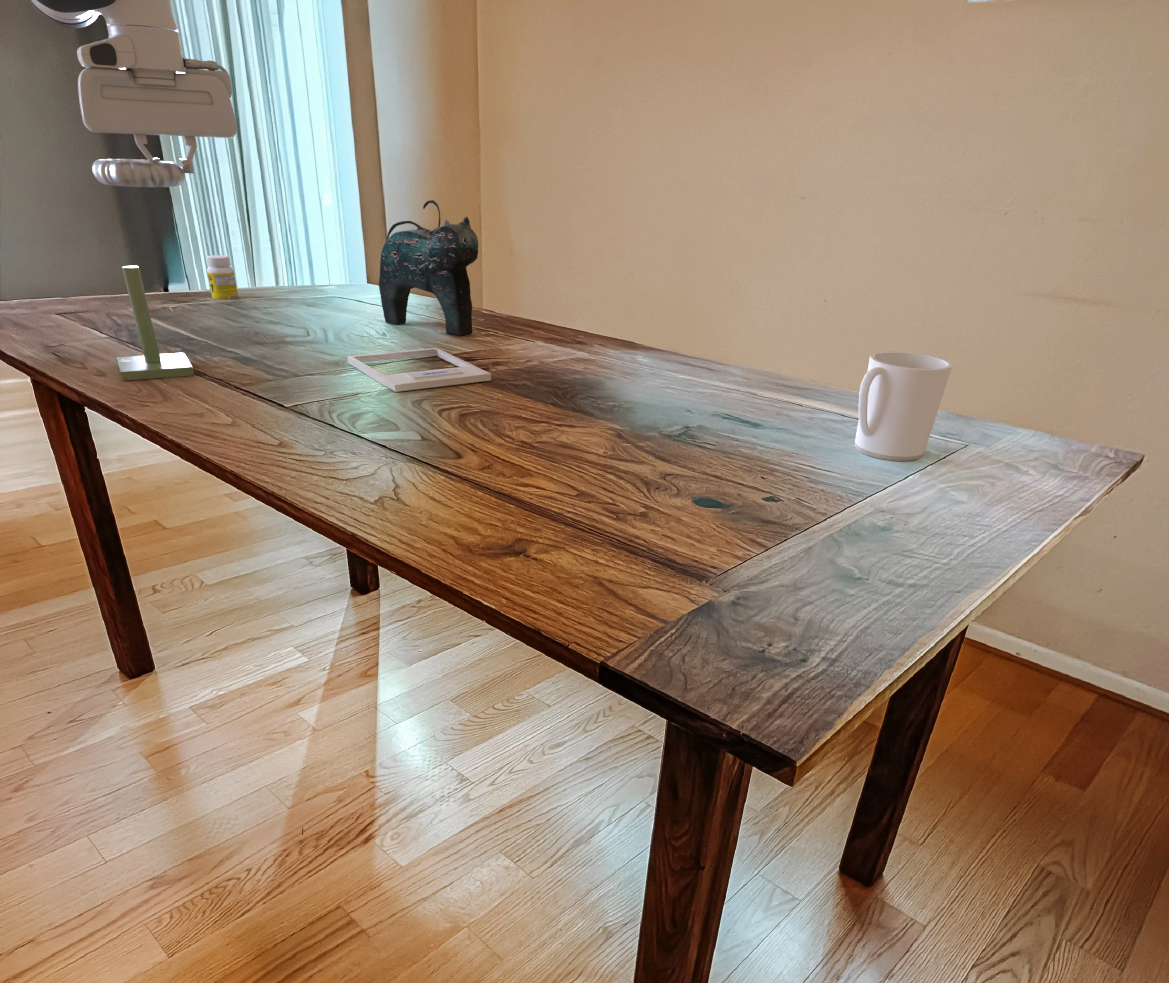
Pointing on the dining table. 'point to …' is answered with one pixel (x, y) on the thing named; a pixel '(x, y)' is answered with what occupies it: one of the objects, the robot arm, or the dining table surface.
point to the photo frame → (421, 378)
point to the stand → (148, 340)
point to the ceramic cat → (429, 271)
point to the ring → (138, 173)
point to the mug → (899, 404)
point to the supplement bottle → (221, 277)
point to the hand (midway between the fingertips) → (172, 172)
